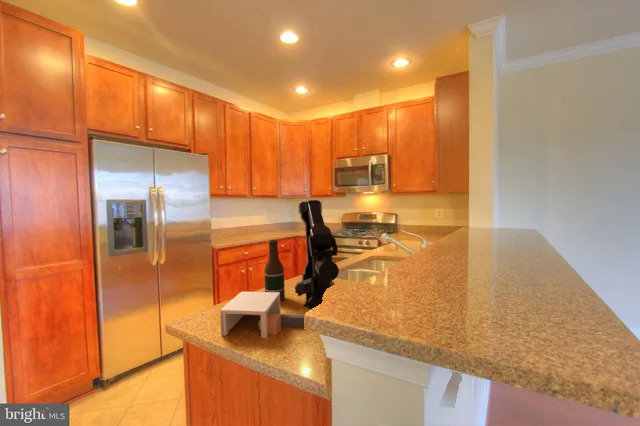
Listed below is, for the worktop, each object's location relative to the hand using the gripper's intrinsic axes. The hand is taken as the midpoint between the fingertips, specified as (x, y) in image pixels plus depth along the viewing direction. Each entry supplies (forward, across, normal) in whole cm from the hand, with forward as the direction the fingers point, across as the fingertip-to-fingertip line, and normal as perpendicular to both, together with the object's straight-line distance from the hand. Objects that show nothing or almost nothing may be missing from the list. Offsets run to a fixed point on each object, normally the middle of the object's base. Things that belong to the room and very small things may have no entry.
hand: (323, 320), depth 90 cm
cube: (+2, +4, -16) cm, 16 cm away
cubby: (+2, +1, -23) cm, 23 cm away
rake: (+2, +2, -10) cm, 11 cm away
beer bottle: (+2, -21, -22) cm, 31 cm away
